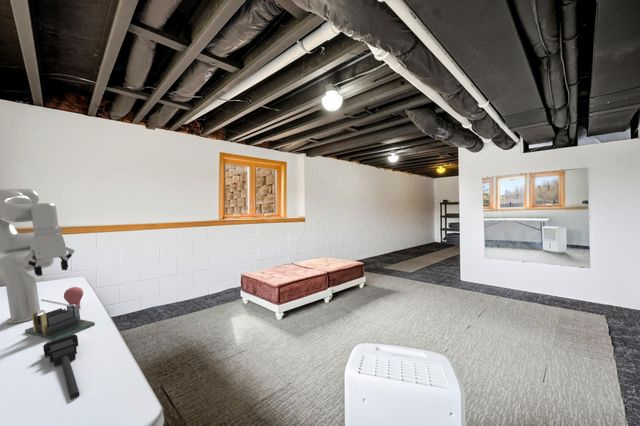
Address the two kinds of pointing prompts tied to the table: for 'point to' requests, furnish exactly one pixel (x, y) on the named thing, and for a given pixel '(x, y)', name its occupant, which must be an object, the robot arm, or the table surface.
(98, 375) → the table surface
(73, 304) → the retention strap
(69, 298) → the light bulb
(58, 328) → the circuit board
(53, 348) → the electrical plug
